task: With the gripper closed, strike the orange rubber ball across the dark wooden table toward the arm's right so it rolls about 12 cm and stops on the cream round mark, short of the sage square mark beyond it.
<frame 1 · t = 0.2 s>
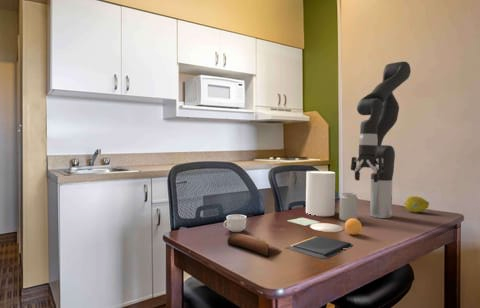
hand: (366, 181, 143), 17 cm above the table, tool pointing down, fingers open, 8 cm apart
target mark: (326, 227, 131), on the table
ball: (353, 226, 122), on the table
sunglasses case: (254, 250, 105), on the table
can: (348, 221, 144), on the table
canister: (319, 213, 159), on the table
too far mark: (303, 221, 141), on the table
teacup: (234, 231, 125), on the table
wallet: (320, 249, 107), on the table
lemon: (416, 212, 163), on the table
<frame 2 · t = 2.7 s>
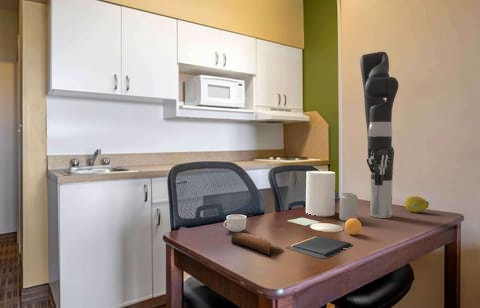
hand: (378, 185, 114), 20 cm above the table, tool pointing down, fingers closed
sunglasses case: (258, 249, 106), on the table
everything else where it was.
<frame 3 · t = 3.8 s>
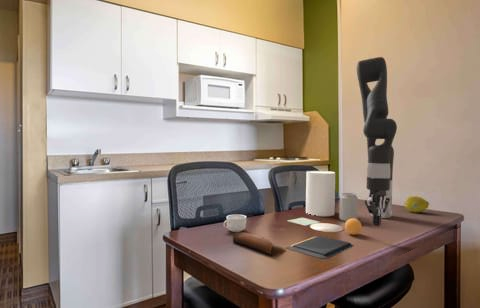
hand: (376, 225, 114), 5 cm above the table, tool pointing down, fingers closed
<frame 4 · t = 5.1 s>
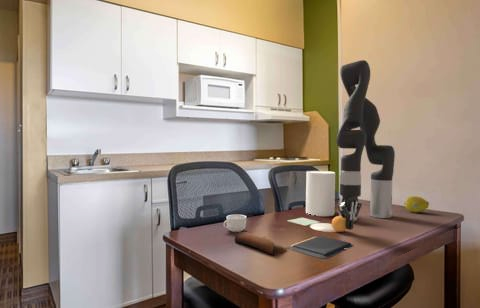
hand: (349, 229, 123), 2 cm above the table, tool pointing down, fingers closed
ball: (339, 223, 126), on the table, touching gripper
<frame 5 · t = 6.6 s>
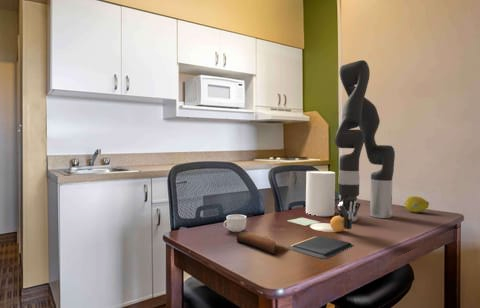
hand: (347, 228, 123), 2 cm above the table, tool pointing down, fingers closed
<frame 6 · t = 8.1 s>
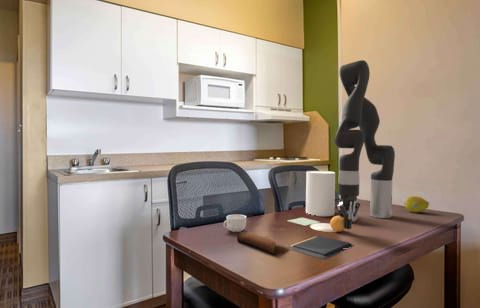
hand: (347, 228, 123), 2 cm above the table, tool pointing down, fingers closed
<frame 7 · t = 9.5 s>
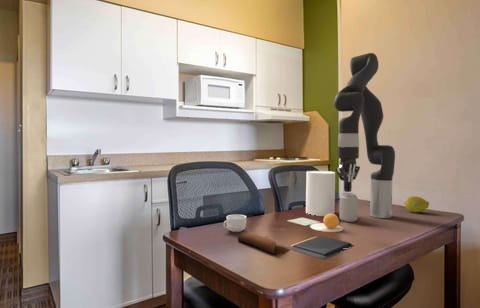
hand: (347, 191, 124), 16 cm above the table, tool pointing down, fingers closed
ball: (331, 221, 130), on the table
sunglasses case: (263, 248, 107), on the table, touching wallet
wallet: (320, 249, 107), on the table, touching sunglasses case
everything else where it was.
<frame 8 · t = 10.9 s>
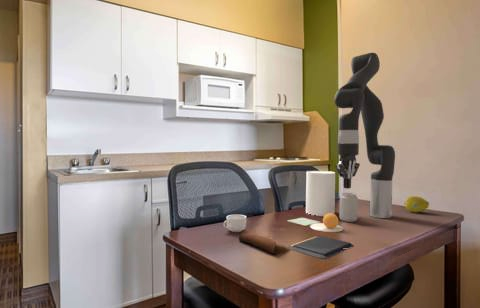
hand: (347, 188, 124), 17 cm above the table, tool pointing down, fingers closed
sunglasses case: (264, 247, 108), on the table
wallet: (320, 249, 107), on the table
everything else where it was.
at the end: ball 1.7 cm from the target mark (horizontally); ball at rest at the end (0.0 cm/s); ball moved 10.4 cm from its start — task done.
